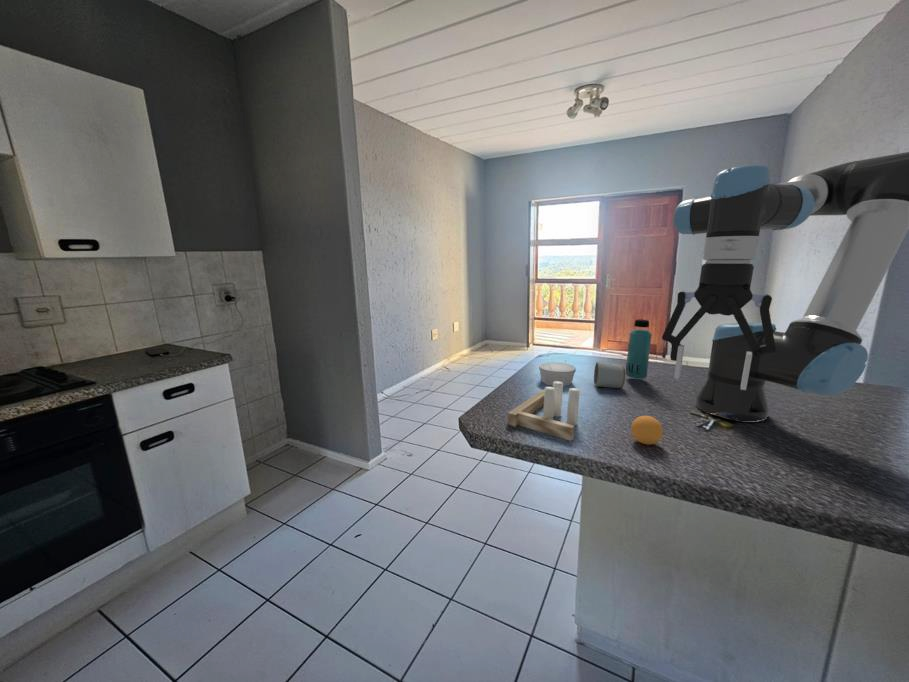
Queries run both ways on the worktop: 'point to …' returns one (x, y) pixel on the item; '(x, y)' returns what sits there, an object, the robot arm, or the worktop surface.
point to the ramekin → (557, 373)
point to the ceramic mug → (609, 375)
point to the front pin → (573, 406)
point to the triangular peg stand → (539, 419)
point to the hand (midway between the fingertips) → (708, 382)
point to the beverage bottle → (638, 351)
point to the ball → (646, 430)
